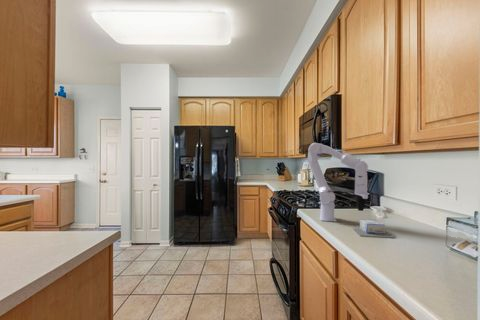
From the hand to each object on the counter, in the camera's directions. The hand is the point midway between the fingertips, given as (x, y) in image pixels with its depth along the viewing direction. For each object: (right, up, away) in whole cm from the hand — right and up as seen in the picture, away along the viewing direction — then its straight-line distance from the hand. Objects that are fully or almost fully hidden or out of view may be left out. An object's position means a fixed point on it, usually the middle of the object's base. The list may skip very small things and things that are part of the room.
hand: (360, 210), depth 122 cm
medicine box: (0, -5, -8) cm, 9 cm away
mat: (-2, -8, -14) cm, 16 cm away
